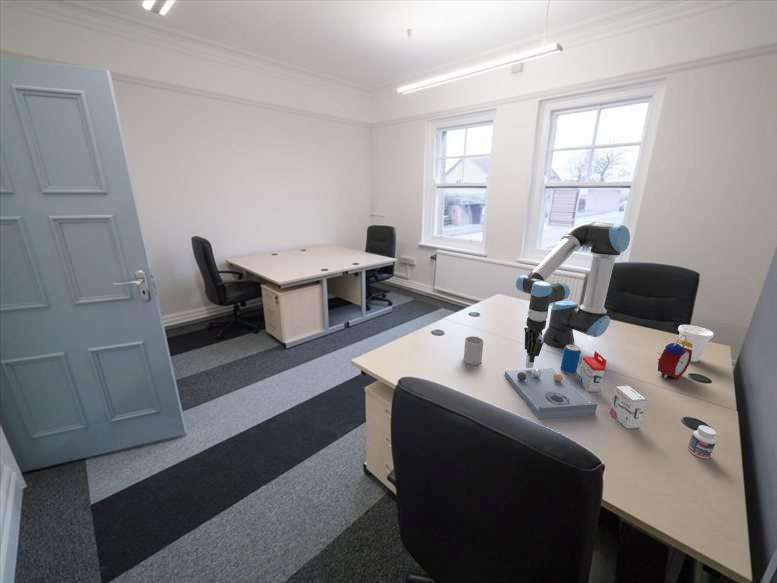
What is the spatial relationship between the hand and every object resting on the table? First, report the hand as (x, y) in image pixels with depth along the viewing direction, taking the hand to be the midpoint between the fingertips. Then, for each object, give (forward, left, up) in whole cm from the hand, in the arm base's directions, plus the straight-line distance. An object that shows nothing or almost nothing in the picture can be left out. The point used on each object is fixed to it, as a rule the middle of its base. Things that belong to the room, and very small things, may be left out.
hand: (529, 367), depth 143 cm
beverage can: (-20, -1, -4) cm, 21 cm away
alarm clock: (-63, +6, -4) cm, 63 cm away
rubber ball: (+7, +7, 0) cm, 11 cm away
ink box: (-19, +32, -4) cm, 37 cm away
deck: (0, +14, -4) cm, 14 cm away
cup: (-86, -6, -4) cm, 86 cm away
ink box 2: (-21, +11, -4) cm, 24 cm away
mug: (+20, -16, -4) cm, 26 cm away
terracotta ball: (-8, +9, 0) cm, 12 cm away
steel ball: (0, +6, 0) cm, 6 cm away
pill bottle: (-31, +48, -4) cm, 57 cm away
